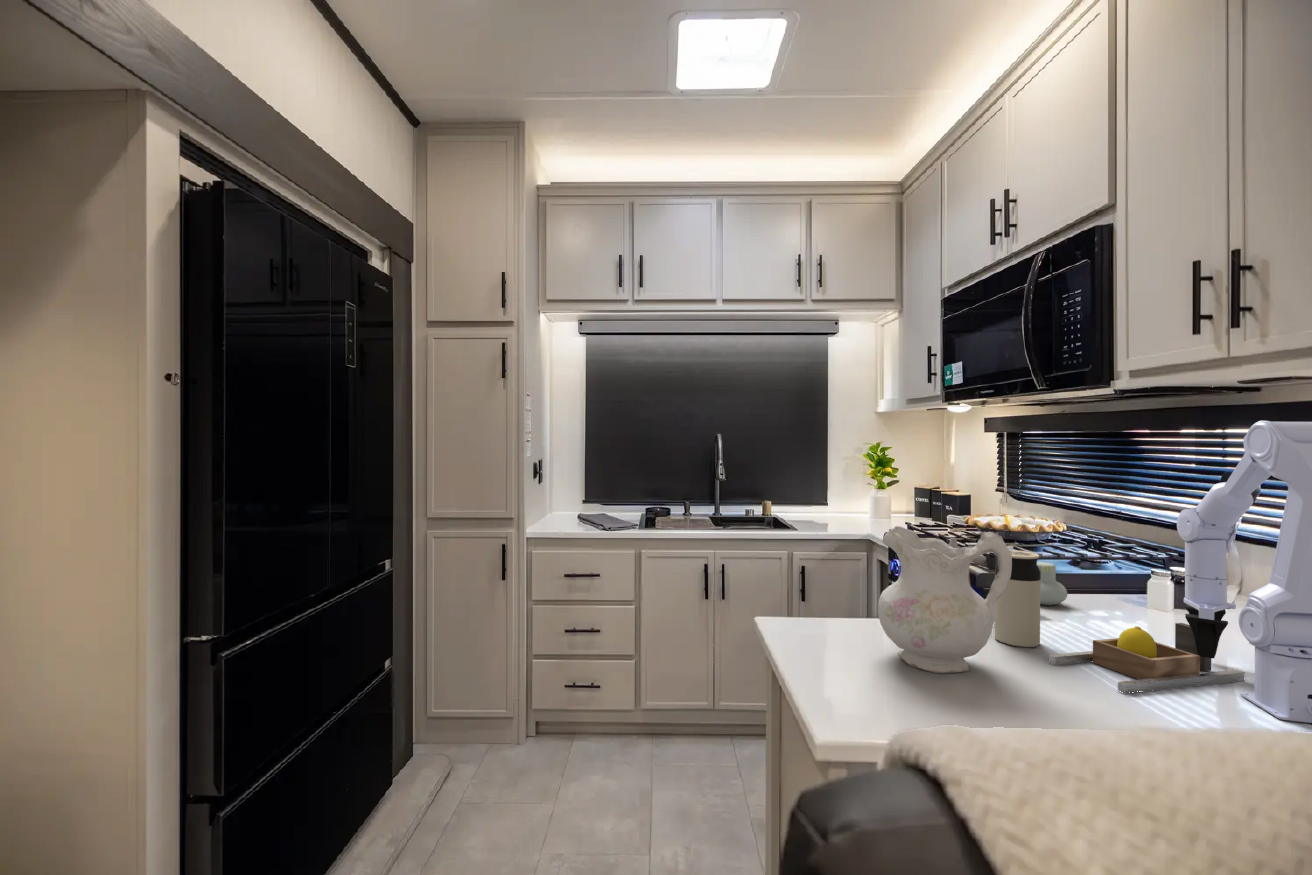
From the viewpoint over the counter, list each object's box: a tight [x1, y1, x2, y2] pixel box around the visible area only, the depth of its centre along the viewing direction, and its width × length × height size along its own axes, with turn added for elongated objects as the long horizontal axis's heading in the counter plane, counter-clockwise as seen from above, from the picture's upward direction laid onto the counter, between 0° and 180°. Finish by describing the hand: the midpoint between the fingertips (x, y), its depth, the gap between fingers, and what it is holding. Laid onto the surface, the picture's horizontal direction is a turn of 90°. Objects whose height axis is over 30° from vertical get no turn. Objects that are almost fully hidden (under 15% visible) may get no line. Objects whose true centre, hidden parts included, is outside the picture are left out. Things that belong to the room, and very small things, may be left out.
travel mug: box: [994, 549, 1041, 648], centre depth 125 cm, size 8×8×18 cm
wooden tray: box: [1092, 622, 1212, 680], centre depth 110 cm, size 18×11×7 cm, turn 104°
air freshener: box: [1037, 560, 1068, 606], centre depth 156 cm, size 11×8×10 cm
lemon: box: [1117, 626, 1157, 658], centre depth 109 cm, size 6×6×8 cm
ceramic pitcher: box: [877, 526, 1012, 674], centre depth 113 cm, size 22×20×25 cm
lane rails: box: [1048, 650, 1246, 694], centre depth 109 cm, size 26×14×2 cm, turn 104°
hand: (1205, 651), depth 112 cm, fingers open, 7 cm apart
